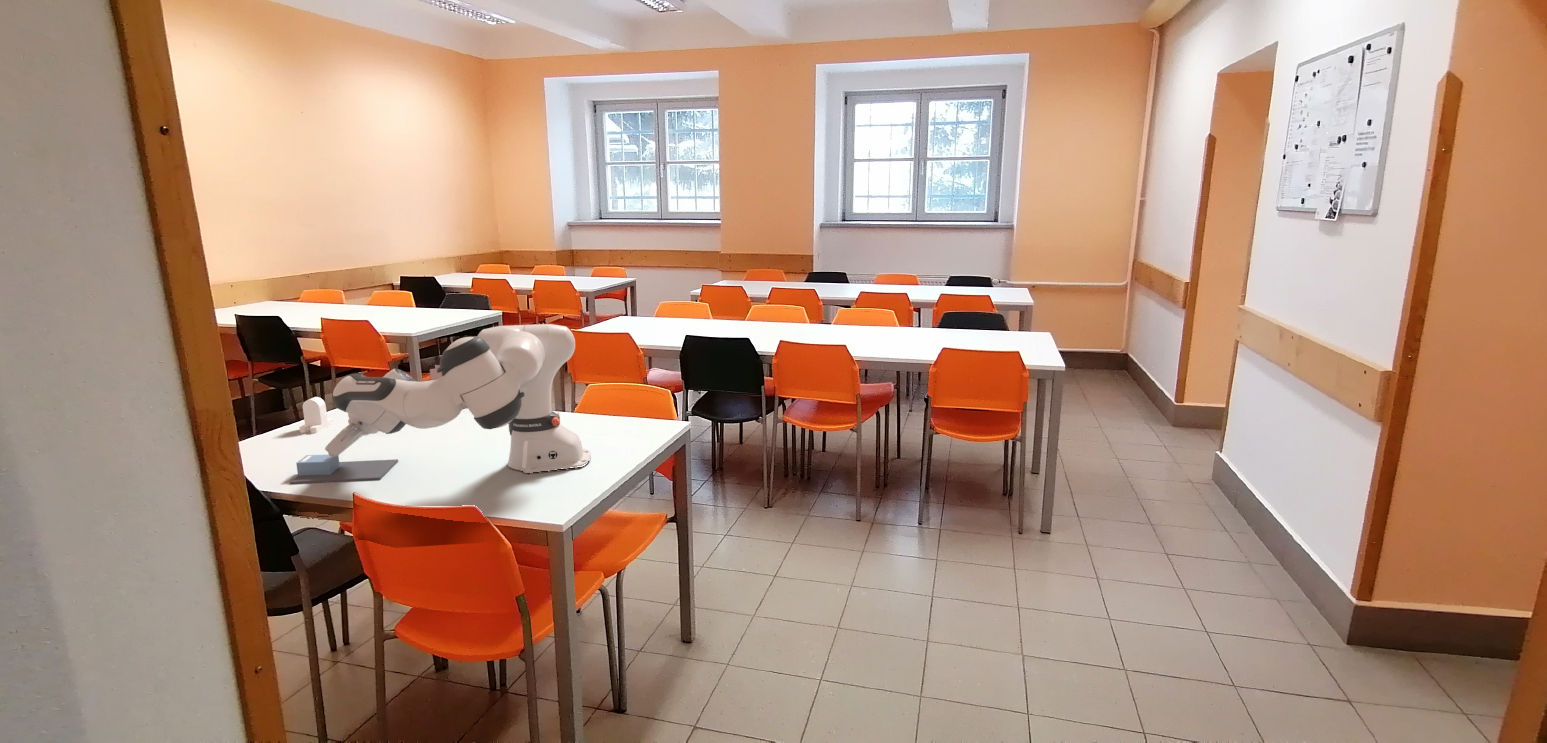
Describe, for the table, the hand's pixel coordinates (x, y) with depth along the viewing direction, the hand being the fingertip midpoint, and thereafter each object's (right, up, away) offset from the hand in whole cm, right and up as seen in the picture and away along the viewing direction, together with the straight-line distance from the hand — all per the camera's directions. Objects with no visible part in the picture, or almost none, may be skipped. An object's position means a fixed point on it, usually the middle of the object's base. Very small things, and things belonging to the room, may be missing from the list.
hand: (332, 454), depth 201 cm
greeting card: (+5, +9, +62) cm, 63 cm away
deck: (0, -3, +1) cm, 3 cm away
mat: (+3, -5, +2) cm, 6 cm away
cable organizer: (-28, +4, +40) cm, 49 cm away
